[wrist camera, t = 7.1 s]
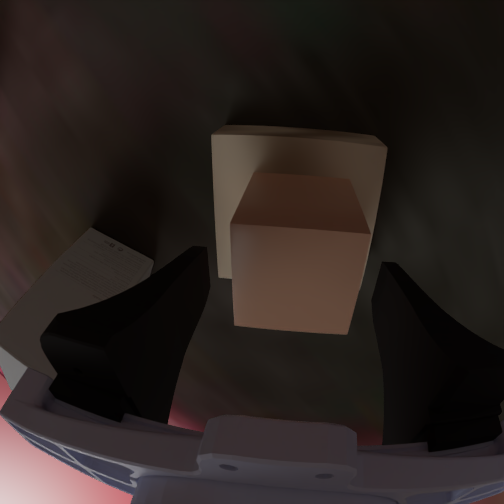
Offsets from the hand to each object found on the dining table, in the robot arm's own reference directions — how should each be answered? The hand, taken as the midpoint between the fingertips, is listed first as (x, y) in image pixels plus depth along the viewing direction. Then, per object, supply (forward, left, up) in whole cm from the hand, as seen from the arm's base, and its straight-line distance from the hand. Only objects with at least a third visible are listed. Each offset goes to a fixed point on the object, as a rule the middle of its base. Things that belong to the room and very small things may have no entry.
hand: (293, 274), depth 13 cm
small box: (+15, +8, -9) cm, 19 cm away
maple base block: (0, 0, -9) cm, 9 cm away
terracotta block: (0, 0, -5) cm, 5 cm away
